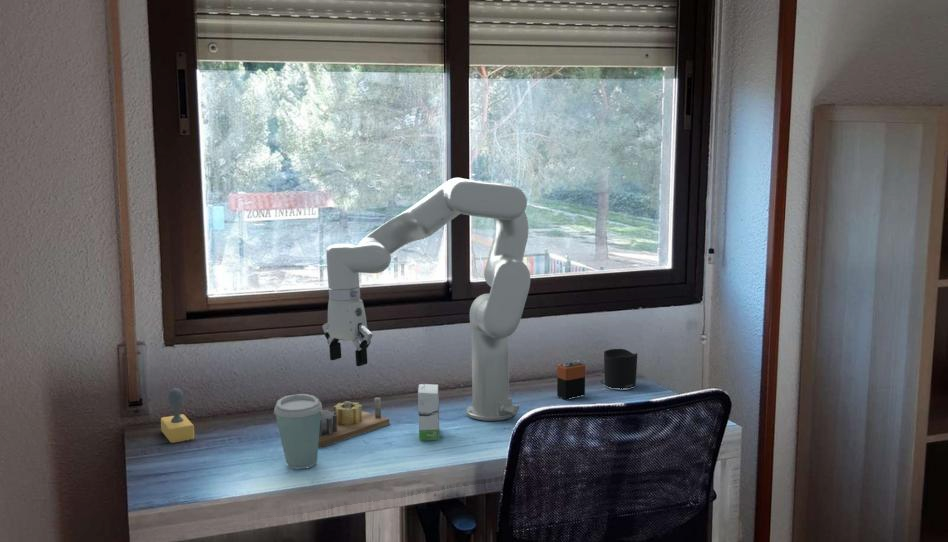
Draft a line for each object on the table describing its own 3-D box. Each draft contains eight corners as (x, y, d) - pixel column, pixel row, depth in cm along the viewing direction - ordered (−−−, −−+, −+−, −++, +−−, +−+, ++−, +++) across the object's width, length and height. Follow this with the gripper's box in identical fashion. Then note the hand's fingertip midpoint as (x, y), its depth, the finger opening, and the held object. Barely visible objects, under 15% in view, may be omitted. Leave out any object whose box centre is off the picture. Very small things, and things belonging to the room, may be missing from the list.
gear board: (389, 424, 237) (388, 398, 236) (321, 447, 221) (320, 420, 220) (354, 414, 246) (354, 389, 245) (286, 435, 230) (285, 409, 229)
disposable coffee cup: (329, 469, 207) (327, 403, 205) (280, 476, 204) (277, 409, 201) (319, 453, 217) (317, 390, 215) (272, 459, 214) (269, 396, 211)
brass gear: (346, 427, 231) (346, 411, 230) (328, 421, 235) (328, 406, 235) (367, 420, 236) (367, 405, 235) (349, 415, 240) (349, 400, 240)
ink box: (439, 440, 225) (438, 393, 224) (418, 441, 225) (417, 393, 223) (439, 428, 234) (438, 382, 232) (419, 429, 234) (418, 383, 232)
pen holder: (603, 390, 265) (603, 356, 264) (604, 381, 274) (604, 348, 273) (636, 392, 264) (637, 357, 262) (636, 382, 273) (637, 349, 271)
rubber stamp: (194, 439, 228) (192, 391, 226) (170, 443, 225) (167, 395, 223) (184, 427, 237) (182, 381, 235) (161, 431, 234) (158, 385, 232)
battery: (585, 396, 260) (586, 361, 258) (566, 400, 256) (566, 365, 255) (575, 393, 263) (576, 358, 262) (556, 396, 260) (556, 361, 258)
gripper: (379, 295, 227) (383, 363, 230) (333, 288, 239) (337, 353, 242) (356, 300, 222) (360, 370, 225) (309, 293, 233) (314, 360, 236)
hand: (348, 362), depth 233 cm, fingers open, 9 cm apart
